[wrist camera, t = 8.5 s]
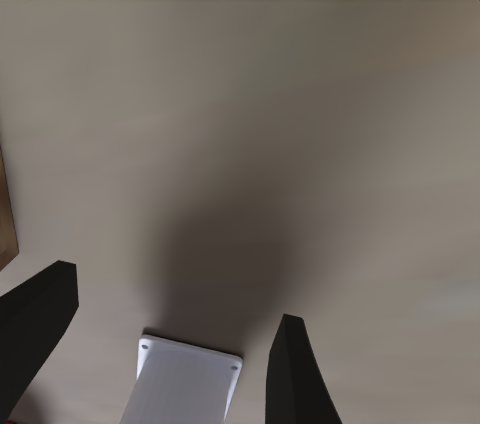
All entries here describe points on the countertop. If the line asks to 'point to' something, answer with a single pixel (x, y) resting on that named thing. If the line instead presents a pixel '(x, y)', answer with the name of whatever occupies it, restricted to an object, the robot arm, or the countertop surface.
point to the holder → (6, 223)
